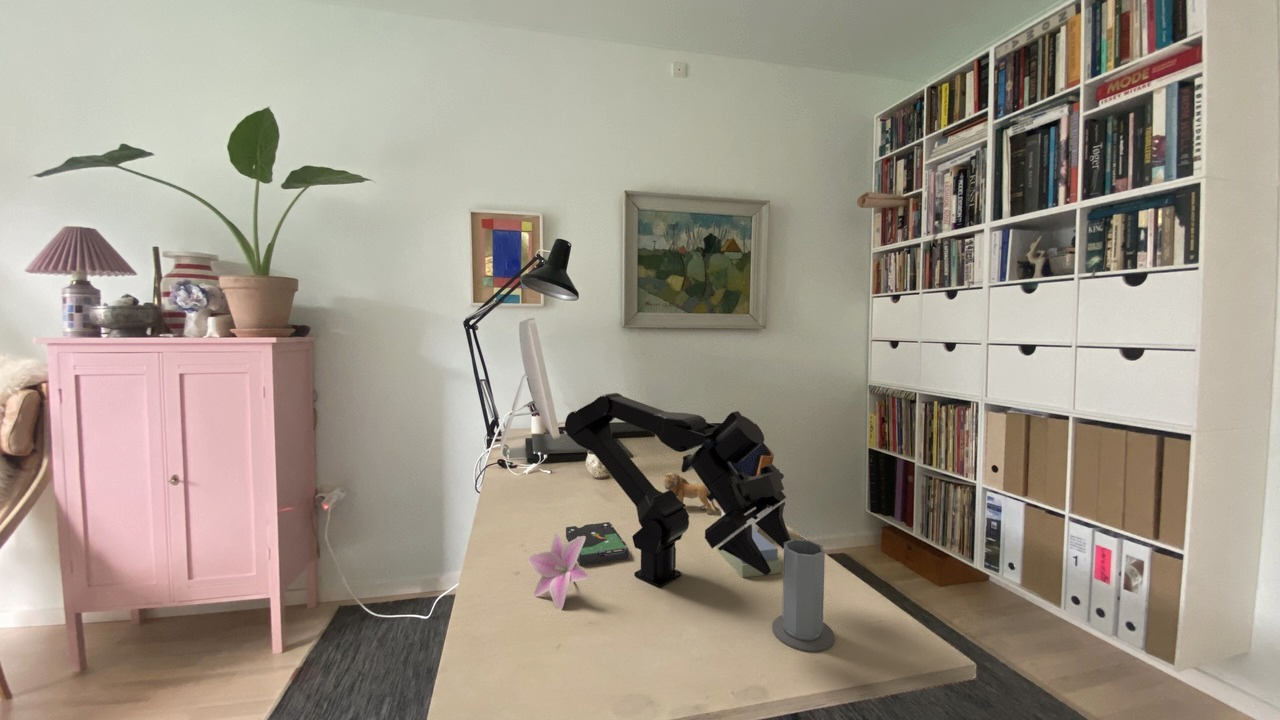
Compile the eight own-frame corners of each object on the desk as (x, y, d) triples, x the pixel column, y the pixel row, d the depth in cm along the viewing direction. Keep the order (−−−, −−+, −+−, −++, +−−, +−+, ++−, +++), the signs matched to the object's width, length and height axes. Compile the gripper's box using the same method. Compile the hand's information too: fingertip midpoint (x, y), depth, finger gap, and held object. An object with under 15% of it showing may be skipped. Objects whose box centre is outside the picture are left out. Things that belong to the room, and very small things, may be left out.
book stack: (780, 572, 95) (781, 550, 94) (742, 577, 93) (742, 554, 92) (751, 546, 106) (751, 526, 106) (716, 549, 104) (717, 529, 104)
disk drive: (564, 539, 110) (579, 568, 97) (564, 527, 110) (579, 554, 96) (609, 533, 114) (630, 560, 100) (609, 521, 114) (630, 546, 100)
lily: (526, 584, 92) (511, 550, 87) (582, 548, 96) (570, 515, 91) (553, 634, 83) (537, 600, 78) (612, 593, 87) (601, 558, 82)
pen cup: (805, 646, 72) (807, 559, 71) (774, 626, 77) (776, 544, 76) (829, 633, 75) (831, 549, 74) (798, 615, 80) (800, 536, 79)
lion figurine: (661, 509, 128) (661, 475, 127) (666, 502, 133) (666, 469, 132) (718, 516, 123) (719, 480, 123) (721, 508, 128) (721, 474, 128)
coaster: (819, 660, 70) (819, 657, 70) (761, 633, 76) (761, 630, 76) (843, 632, 76) (843, 629, 76) (788, 609, 82) (788, 607, 82)
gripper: (724, 463, 73) (795, 559, 66) (776, 441, 87) (838, 518, 81) (678, 503, 78) (740, 595, 72) (735, 476, 93) (790, 551, 86)
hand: (781, 562), depth 78 cm, fingers open, 9 cm apart
